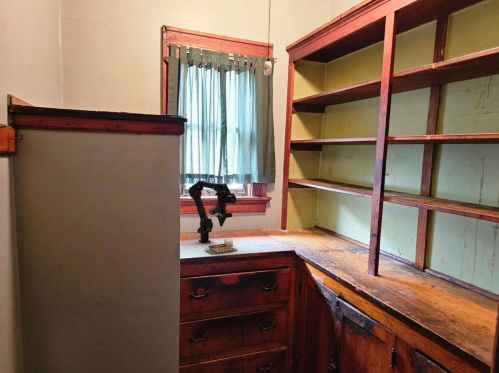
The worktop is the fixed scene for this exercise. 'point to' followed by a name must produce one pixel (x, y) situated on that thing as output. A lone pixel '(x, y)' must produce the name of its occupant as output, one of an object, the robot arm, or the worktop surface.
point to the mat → (221, 251)
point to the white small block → (228, 242)
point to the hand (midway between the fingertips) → (221, 226)
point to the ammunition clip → (219, 248)
